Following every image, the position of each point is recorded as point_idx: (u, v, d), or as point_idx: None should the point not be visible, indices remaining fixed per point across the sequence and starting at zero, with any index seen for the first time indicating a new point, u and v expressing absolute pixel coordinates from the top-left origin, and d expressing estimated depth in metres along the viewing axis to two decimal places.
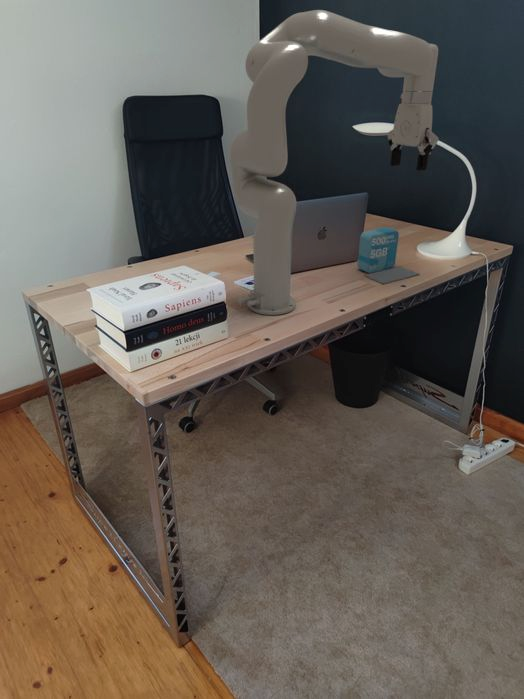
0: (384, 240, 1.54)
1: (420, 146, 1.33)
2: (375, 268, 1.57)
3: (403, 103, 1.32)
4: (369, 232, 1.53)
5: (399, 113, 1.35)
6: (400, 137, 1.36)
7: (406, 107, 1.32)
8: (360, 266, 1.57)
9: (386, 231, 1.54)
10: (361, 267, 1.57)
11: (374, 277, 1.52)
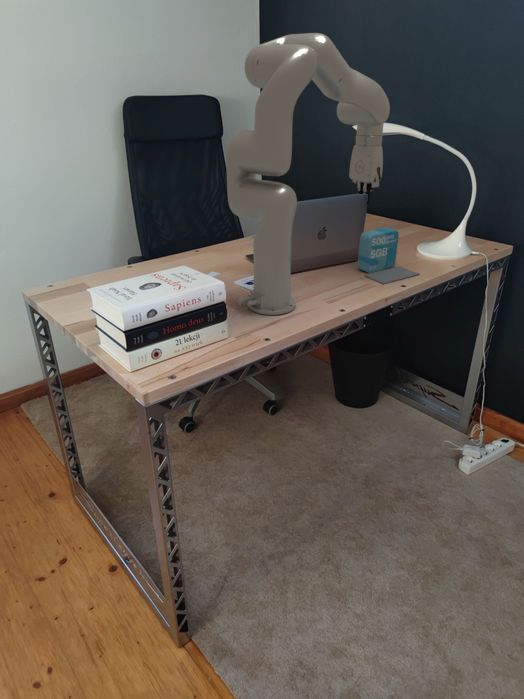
0: (384, 240, 1.54)
1: (365, 185, 1.53)
2: (375, 268, 1.57)
3: (357, 145, 1.48)
4: (369, 232, 1.53)
5: (354, 153, 1.52)
6: (356, 174, 1.53)
7: (359, 148, 1.49)
8: (360, 266, 1.57)
9: (386, 231, 1.54)
10: (361, 267, 1.57)
11: (374, 277, 1.52)
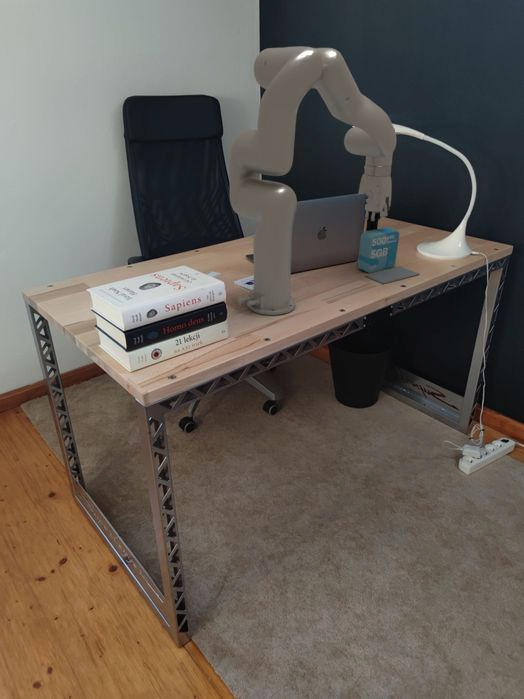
0: (384, 240, 1.53)
1: (374, 214, 1.53)
2: (375, 268, 1.57)
3: (365, 175, 1.48)
4: (370, 232, 1.52)
5: (363, 182, 1.51)
6: None
7: (368, 178, 1.49)
8: (360, 266, 1.57)
9: (387, 231, 1.54)
10: (361, 267, 1.57)
11: (374, 277, 1.52)
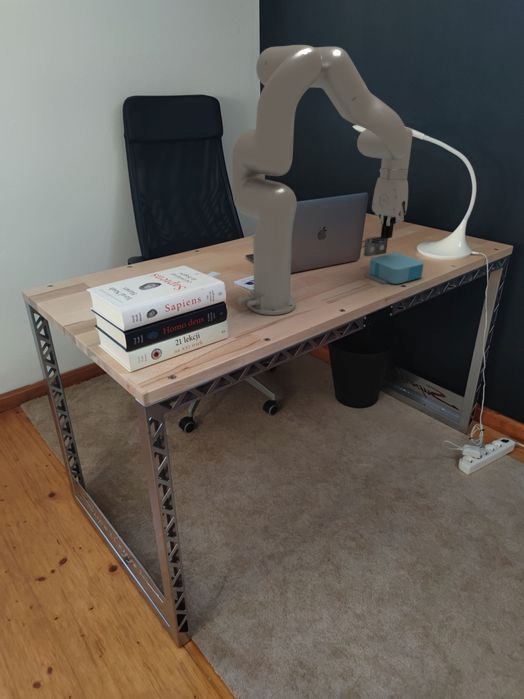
0: None
1: (389, 218, 1.48)
2: None
3: (381, 178, 1.43)
4: (401, 274, 1.46)
5: (378, 186, 1.47)
6: (379, 207, 1.48)
7: (384, 181, 1.44)
8: (370, 265, 1.53)
9: (413, 277, 1.49)
10: (370, 265, 1.53)
11: (374, 277, 1.52)
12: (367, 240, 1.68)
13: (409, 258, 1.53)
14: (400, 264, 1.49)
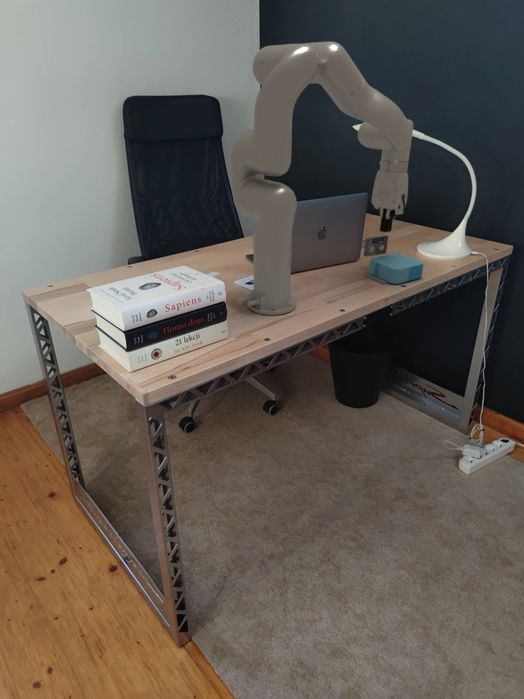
0: None
1: (389, 211, 1.47)
2: None
3: (381, 170, 1.43)
4: (401, 274, 1.46)
5: (378, 178, 1.46)
6: (379, 200, 1.47)
7: (384, 174, 1.43)
8: (370, 265, 1.53)
9: (413, 277, 1.49)
10: (370, 265, 1.53)
11: (374, 277, 1.52)
12: (367, 240, 1.68)
13: (409, 258, 1.53)
14: (400, 264, 1.49)
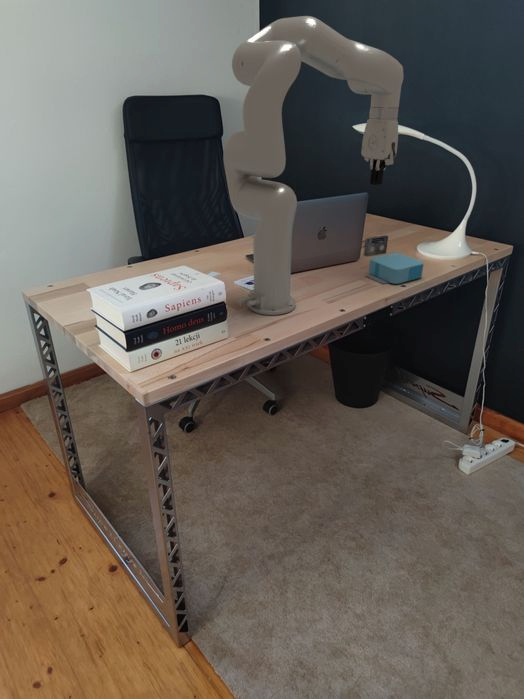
0: None
1: (378, 162, 1.42)
2: None
3: (370, 118, 1.38)
4: (401, 274, 1.46)
5: (367, 128, 1.41)
6: (368, 150, 1.43)
7: (373, 122, 1.39)
8: (370, 265, 1.53)
9: (413, 277, 1.49)
10: (370, 265, 1.53)
11: (374, 277, 1.52)
12: (367, 240, 1.68)
13: (409, 258, 1.53)
14: (400, 264, 1.49)
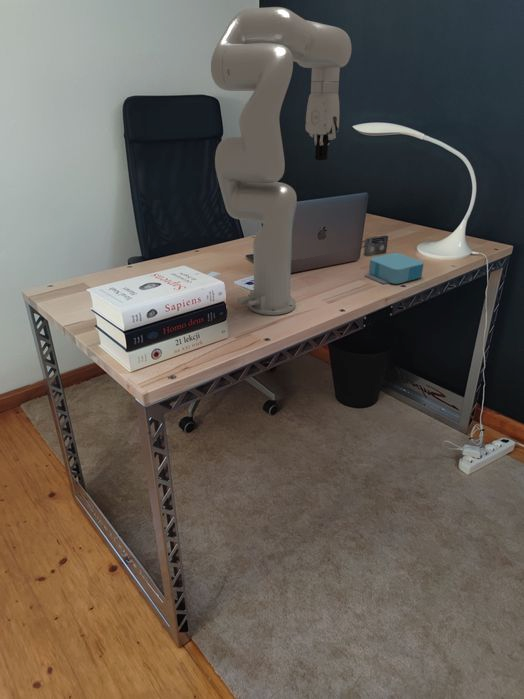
0: None
1: (322, 137, 1.43)
2: None
3: (311, 93, 1.38)
4: (401, 274, 1.46)
5: (309, 103, 1.42)
6: (311, 126, 1.43)
7: (315, 96, 1.39)
8: (370, 265, 1.53)
9: (413, 277, 1.49)
10: (370, 265, 1.53)
11: (374, 277, 1.52)
12: (367, 240, 1.68)
13: (409, 258, 1.53)
14: (400, 264, 1.49)
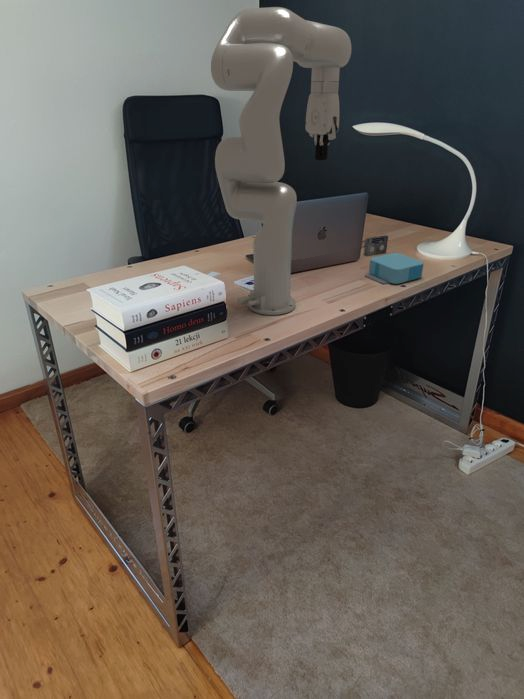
0: None
1: (322, 137, 1.43)
2: None
3: (311, 93, 1.38)
4: (401, 274, 1.46)
5: (309, 103, 1.42)
6: (311, 126, 1.43)
7: (315, 96, 1.39)
8: (370, 265, 1.53)
9: (413, 277, 1.49)
10: (370, 265, 1.53)
11: (374, 277, 1.52)
12: (367, 240, 1.68)
13: (409, 258, 1.53)
14: (400, 264, 1.49)
